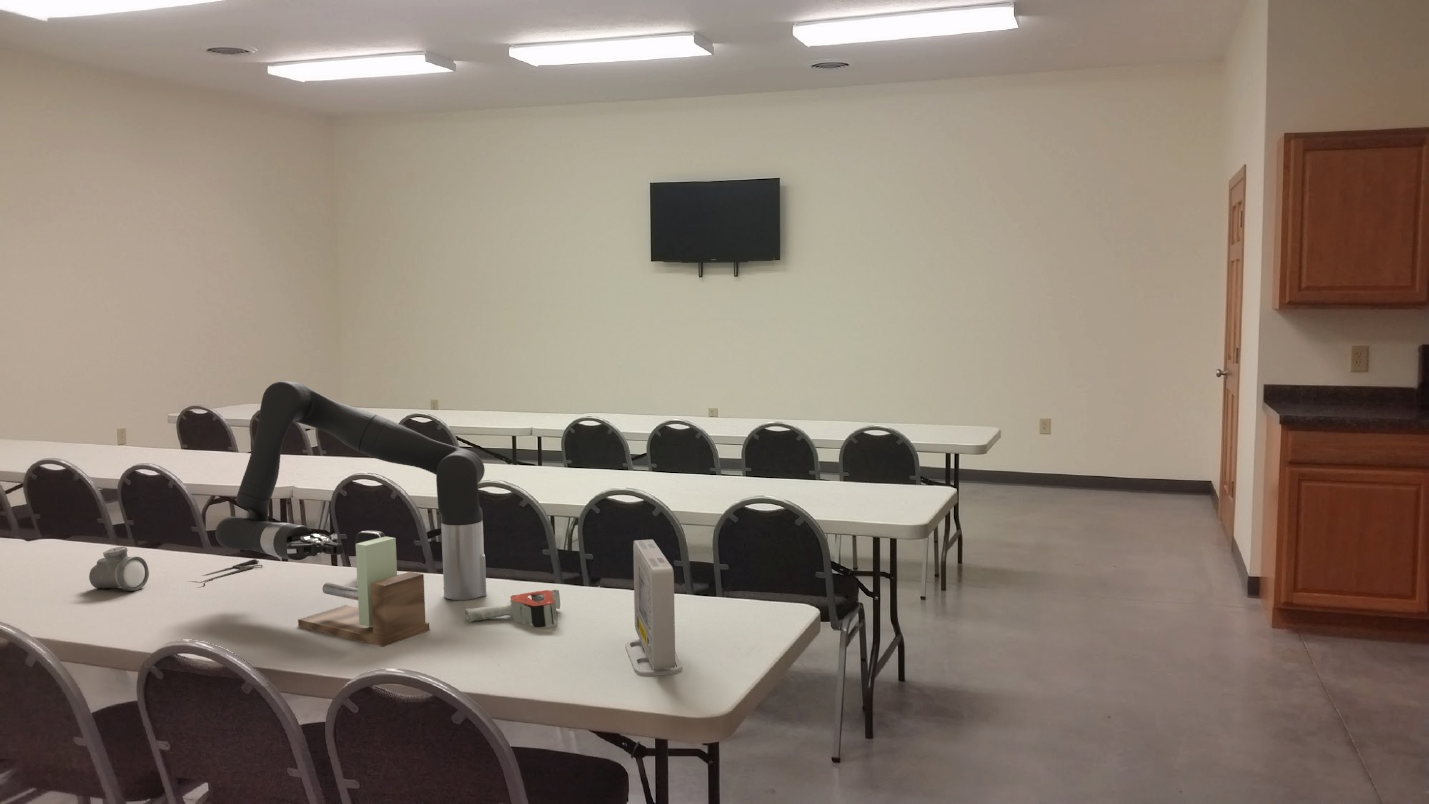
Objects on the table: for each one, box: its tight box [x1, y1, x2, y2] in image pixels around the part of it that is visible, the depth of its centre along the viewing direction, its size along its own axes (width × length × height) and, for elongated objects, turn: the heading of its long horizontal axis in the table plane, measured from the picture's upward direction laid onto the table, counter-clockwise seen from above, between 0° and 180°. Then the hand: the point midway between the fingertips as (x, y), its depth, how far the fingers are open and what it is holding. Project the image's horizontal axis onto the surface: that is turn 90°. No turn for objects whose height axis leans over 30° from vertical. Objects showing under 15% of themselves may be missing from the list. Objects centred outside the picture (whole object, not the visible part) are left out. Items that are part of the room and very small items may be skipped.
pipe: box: [321, 582, 358, 601], centre depth 218 cm, size 22×3×3 cm, turn 58°
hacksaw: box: [188, 558, 264, 589], centre depth 263 cm, size 24×10×2 cm, turn 150°
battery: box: [355, 530, 386, 545], centre depth 259 cm, size 7×4×11 cm, turn 72°
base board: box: [297, 571, 430, 648], centre depth 218 cm, size 26×12×12 cm, turn 58°
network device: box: [624, 539, 683, 677], centre depth 197 cm, size 26×9×20 cm, turn 12°
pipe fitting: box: [88, 545, 150, 592], centre depth 251 cm, size 12×8×10 cm, turn 73°
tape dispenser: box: [464, 589, 561, 629], centre depth 224 cm, size 18×5×20 cm
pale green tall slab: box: [355, 535, 398, 627], centre depth 215 cm, size 3×8×17 cm, turn 148°
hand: (340, 549), depth 220 cm, fingers closed
